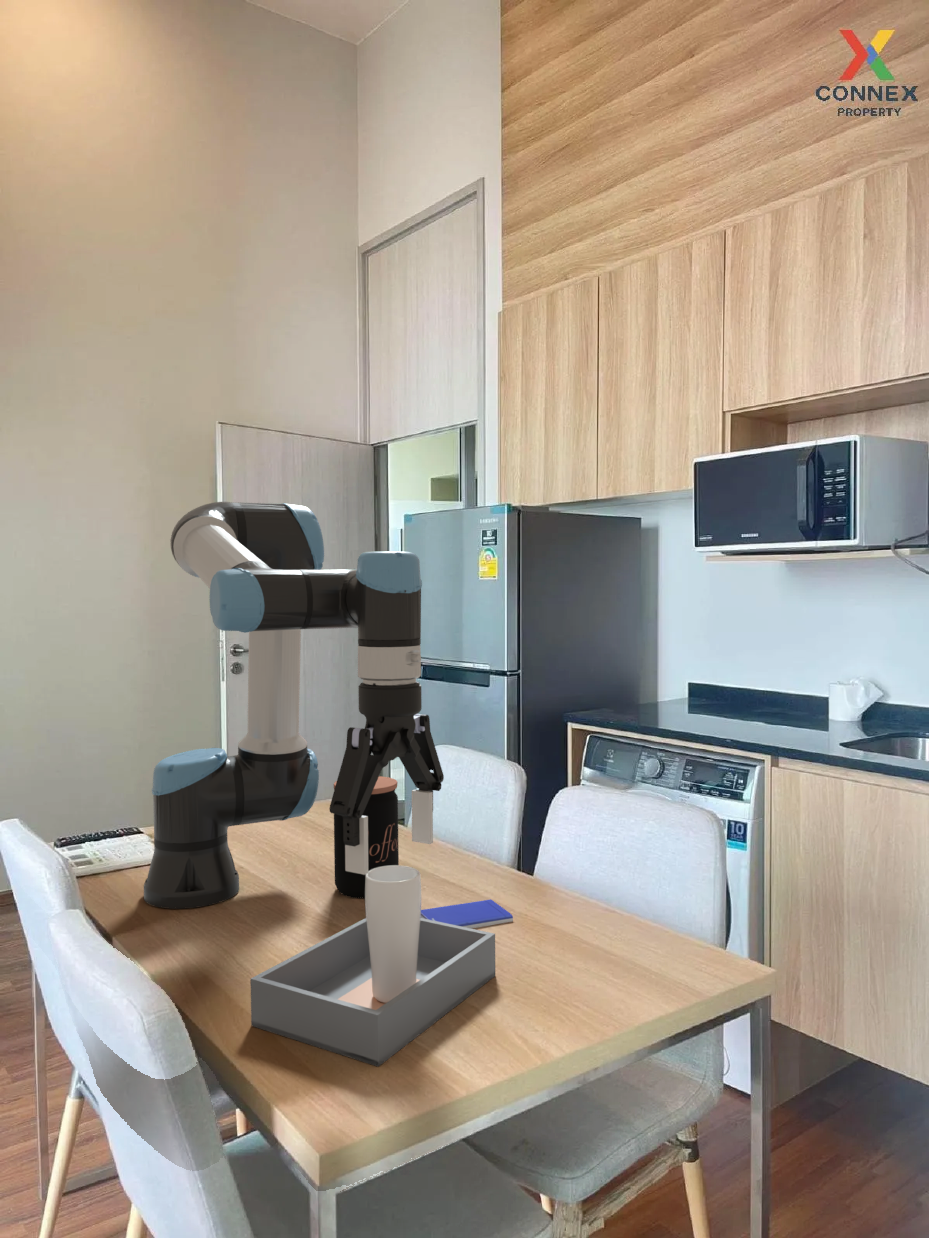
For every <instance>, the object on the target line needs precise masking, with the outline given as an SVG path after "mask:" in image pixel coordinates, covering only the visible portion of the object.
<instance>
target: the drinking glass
mask: <svg viewBox="0 0 929 1238" xmlns="http://www.w3.org/2000/svg"><path fill="white" fill-rule="evenodd" d="M421 877H422V876H421V872H420V870H419V869H417V868H415V867H413V866H407V865H400V864H399V865H391V866H382V867H378V868H374V869H372V870H370V871H368V873H367V874H366V879H365V898H364V904H365V907H364V908H365V918H366V921H367V931H368V941H369V951H370V962H371V973H372V993H373V996H374V998H375V999H376V1000H378V1001H380V1002H383V1003H387V1002H389V1001H390V1000H392V999H393V998H395V997H396V996H397V995H399V994H400V993H402V992H403V991H405V990H406V989H408V988H409V987H411V986H412V985H414V984H415V983H416V973H417V958H418V944H419V931H420V918H421V910H422V882H421V881H422V879H421Z"/></svg>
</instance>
